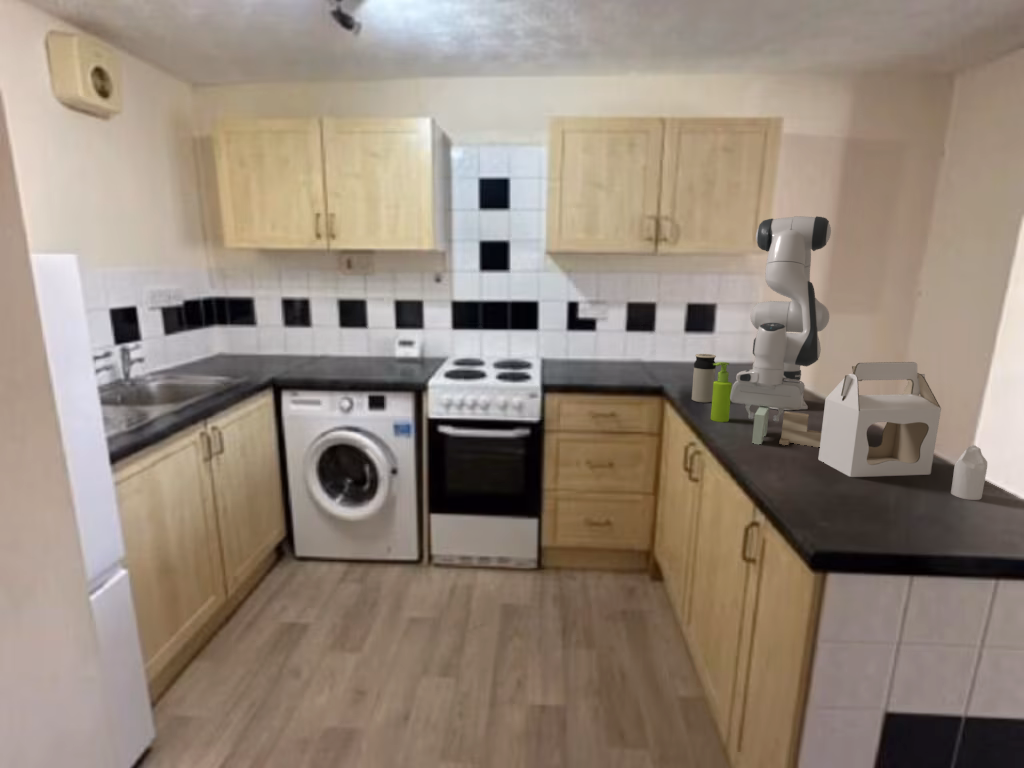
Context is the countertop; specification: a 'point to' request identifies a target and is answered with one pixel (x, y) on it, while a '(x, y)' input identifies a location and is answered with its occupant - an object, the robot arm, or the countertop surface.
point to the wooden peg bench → (798, 430)
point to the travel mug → (703, 378)
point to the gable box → (905, 414)
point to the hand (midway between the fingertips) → (763, 419)
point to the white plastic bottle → (969, 474)
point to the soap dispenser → (721, 395)
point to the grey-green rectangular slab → (760, 424)
